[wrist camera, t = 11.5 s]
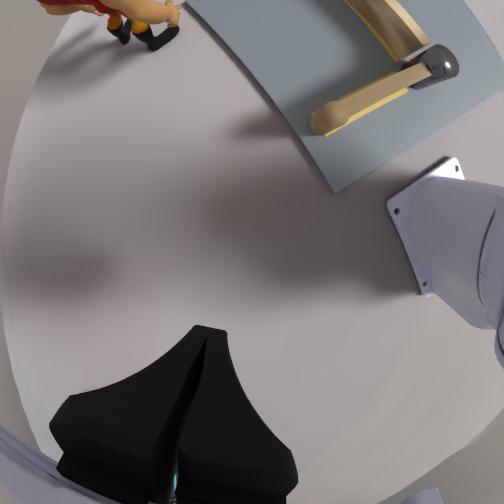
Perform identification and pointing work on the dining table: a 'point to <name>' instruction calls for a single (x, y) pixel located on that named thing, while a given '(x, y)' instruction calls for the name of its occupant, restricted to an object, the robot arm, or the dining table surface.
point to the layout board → (354, 72)
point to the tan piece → (393, 25)
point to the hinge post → (434, 65)
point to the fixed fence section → (364, 99)
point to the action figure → (134, 9)
